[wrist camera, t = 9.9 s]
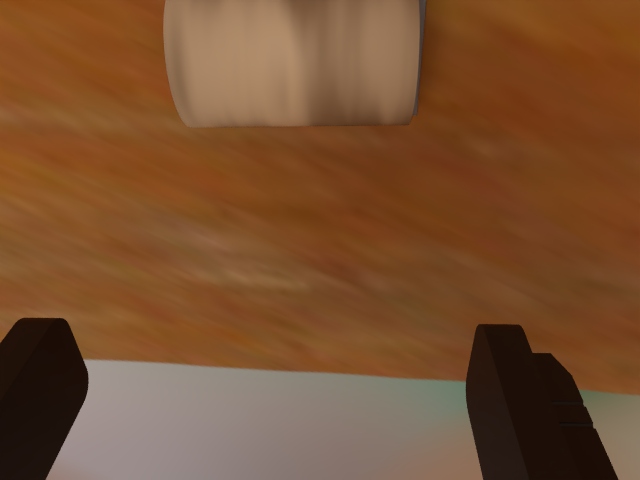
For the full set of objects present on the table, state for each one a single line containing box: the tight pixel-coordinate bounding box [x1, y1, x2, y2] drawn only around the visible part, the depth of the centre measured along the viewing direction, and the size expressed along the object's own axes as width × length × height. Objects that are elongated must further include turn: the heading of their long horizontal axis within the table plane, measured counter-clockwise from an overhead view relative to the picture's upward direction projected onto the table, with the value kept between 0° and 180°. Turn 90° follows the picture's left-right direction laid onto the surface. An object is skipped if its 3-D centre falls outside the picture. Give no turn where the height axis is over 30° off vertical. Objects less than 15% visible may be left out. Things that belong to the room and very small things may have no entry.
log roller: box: [164, 0, 420, 128], centre depth 27 cm, size 11×7×7 cm, turn 92°
